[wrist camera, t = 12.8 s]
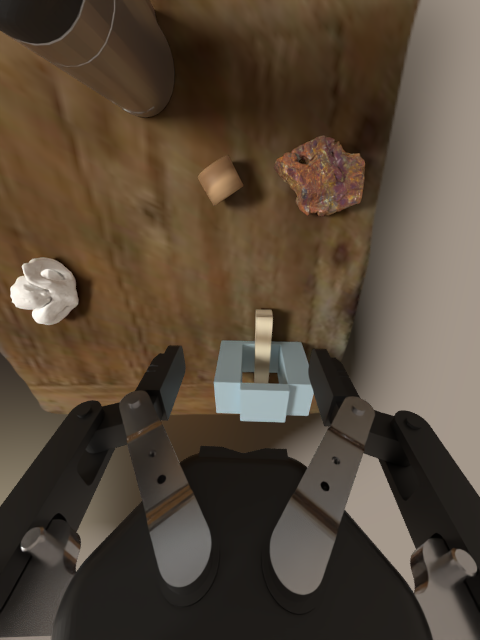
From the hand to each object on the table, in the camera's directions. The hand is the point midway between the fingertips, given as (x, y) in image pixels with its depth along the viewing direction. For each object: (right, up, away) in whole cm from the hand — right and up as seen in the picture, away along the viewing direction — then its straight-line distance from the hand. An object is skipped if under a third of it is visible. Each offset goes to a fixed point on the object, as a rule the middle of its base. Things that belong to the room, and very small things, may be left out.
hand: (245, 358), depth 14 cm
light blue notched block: (+4, -6, +36) cm, 36 cm away
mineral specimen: (+11, +23, +19) cm, 32 cm away
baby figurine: (-35, +9, +30) cm, 47 cm away
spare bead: (-3, +23, +19) cm, 30 cm away
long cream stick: (+4, -5, +34) cm, 35 cm away
